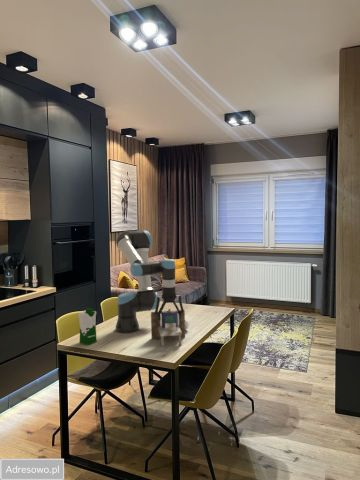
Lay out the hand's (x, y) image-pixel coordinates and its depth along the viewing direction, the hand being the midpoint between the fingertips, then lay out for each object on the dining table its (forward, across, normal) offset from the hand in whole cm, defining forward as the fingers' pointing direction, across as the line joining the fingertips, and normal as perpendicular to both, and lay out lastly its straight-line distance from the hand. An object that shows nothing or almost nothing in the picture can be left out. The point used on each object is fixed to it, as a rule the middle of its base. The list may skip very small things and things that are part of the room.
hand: (169, 325), depth 211 cm
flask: (+1, 0, 0) cm, 1 cm away
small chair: (+10, 0, +1) cm, 10 cm away
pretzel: (+10, +9, +20) cm, 24 cm away
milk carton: (+10, -47, +10) cm, 49 cm away
